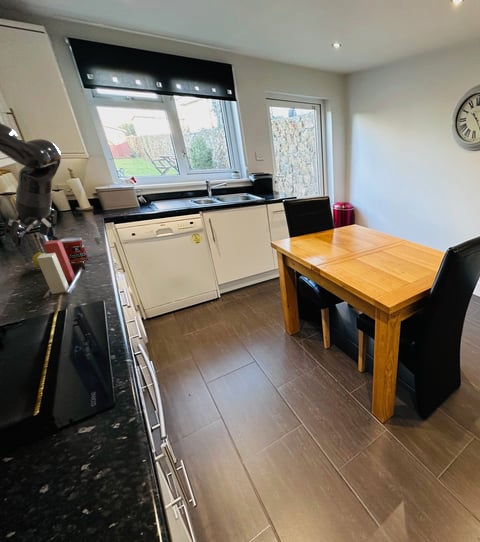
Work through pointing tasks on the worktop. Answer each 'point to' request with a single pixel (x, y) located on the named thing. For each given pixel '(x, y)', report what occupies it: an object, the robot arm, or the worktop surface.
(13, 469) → the worktop surface
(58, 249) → the marker red
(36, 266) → the lemon
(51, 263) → the block
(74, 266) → the score rail
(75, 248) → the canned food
